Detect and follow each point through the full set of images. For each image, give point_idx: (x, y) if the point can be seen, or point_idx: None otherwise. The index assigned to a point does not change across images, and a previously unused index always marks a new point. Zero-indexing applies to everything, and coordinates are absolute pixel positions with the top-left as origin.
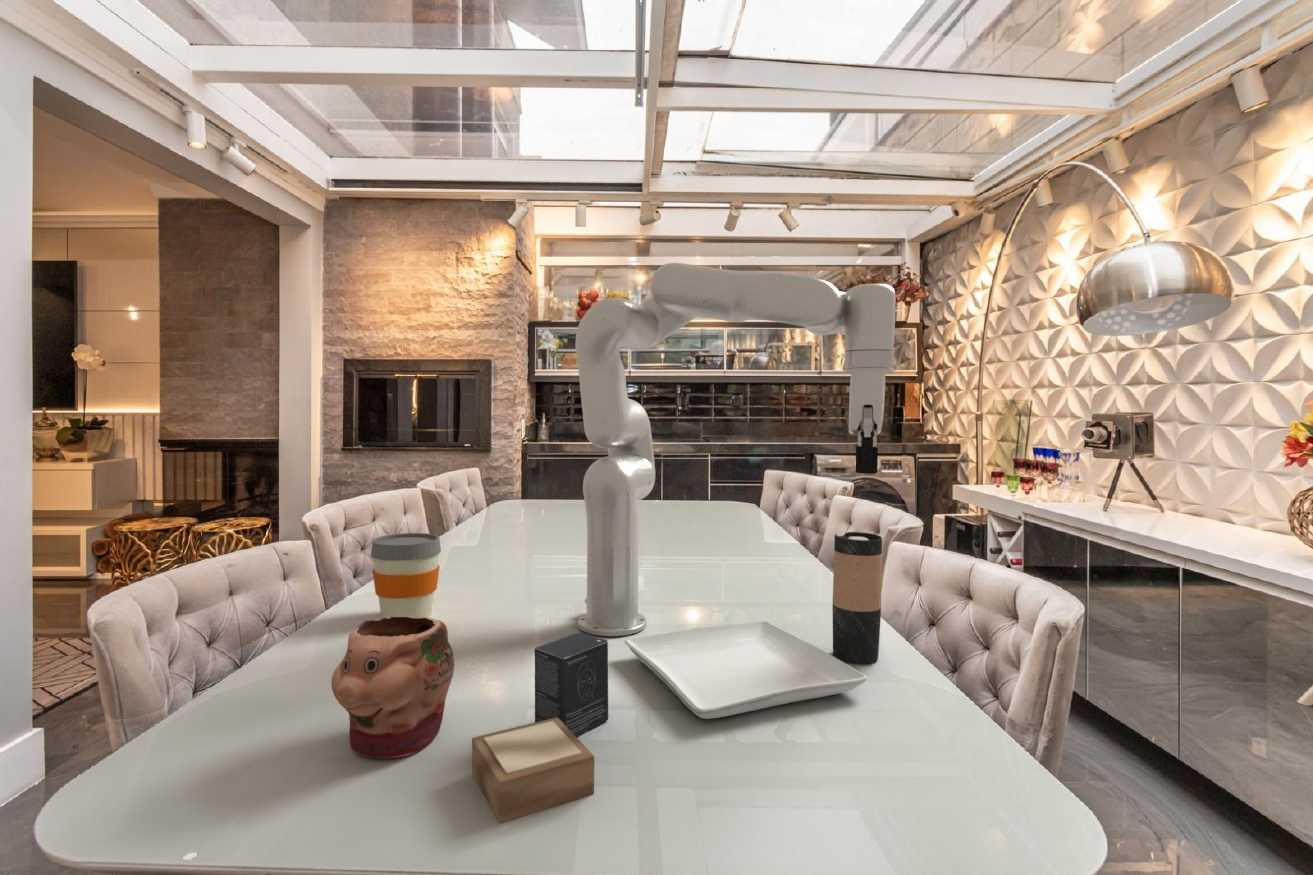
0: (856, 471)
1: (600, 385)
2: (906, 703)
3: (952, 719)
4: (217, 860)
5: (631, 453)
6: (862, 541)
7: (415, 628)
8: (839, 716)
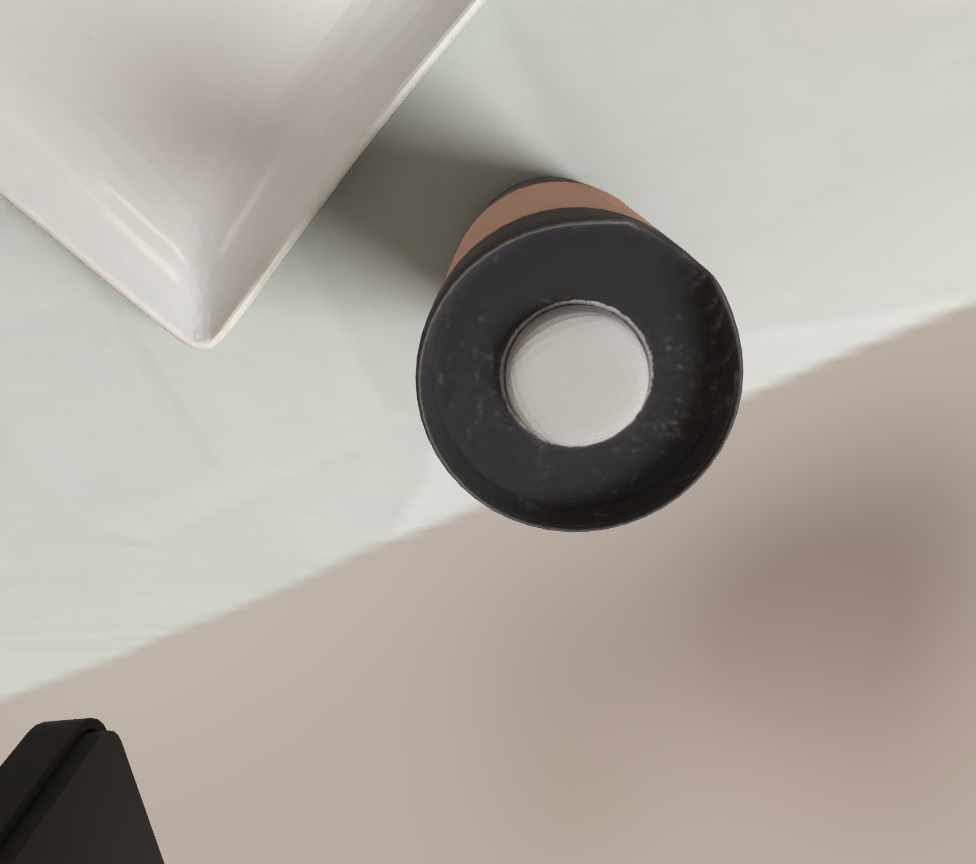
0: (44, 732)
1: None
2: (246, 437)
3: (212, 540)
4: None
5: None
6: (425, 429)
7: None
8: (58, 281)
